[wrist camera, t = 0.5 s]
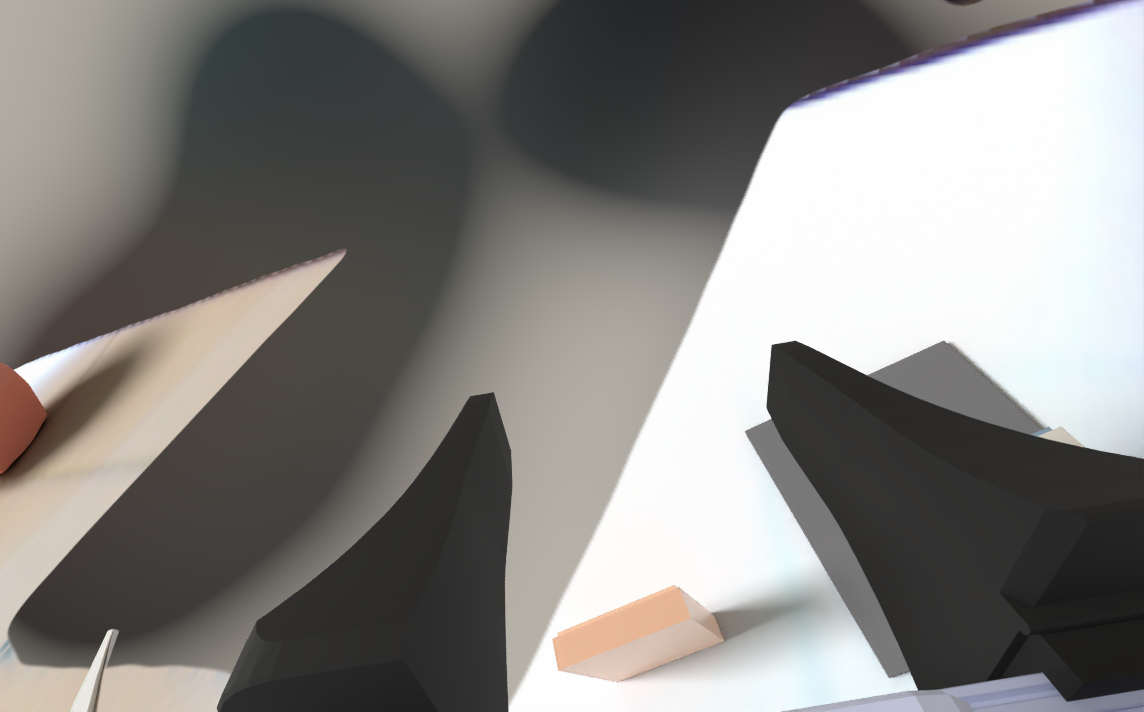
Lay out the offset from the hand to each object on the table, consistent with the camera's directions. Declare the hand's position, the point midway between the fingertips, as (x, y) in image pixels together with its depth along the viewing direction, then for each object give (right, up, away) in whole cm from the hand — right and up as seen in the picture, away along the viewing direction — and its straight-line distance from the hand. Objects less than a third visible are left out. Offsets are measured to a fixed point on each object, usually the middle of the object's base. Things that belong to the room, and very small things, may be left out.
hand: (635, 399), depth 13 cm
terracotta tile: (+3, -14, +13) cm, 19 cm away
